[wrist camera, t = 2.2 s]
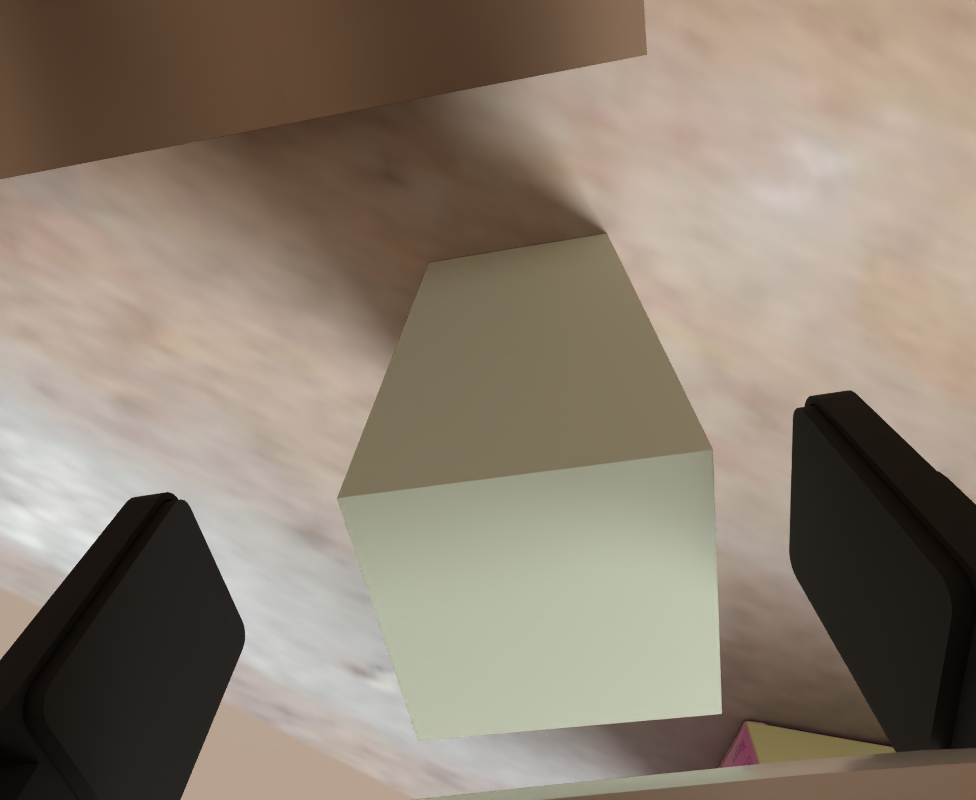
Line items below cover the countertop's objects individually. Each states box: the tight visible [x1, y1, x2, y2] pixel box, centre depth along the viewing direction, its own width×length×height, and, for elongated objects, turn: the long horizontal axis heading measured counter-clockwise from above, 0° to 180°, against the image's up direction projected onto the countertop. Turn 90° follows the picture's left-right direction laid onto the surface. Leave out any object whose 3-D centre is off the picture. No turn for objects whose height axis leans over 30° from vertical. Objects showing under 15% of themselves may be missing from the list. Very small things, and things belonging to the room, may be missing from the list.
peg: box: [337, 233, 722, 741], centre depth 13 cm, size 4×4×10 cm
